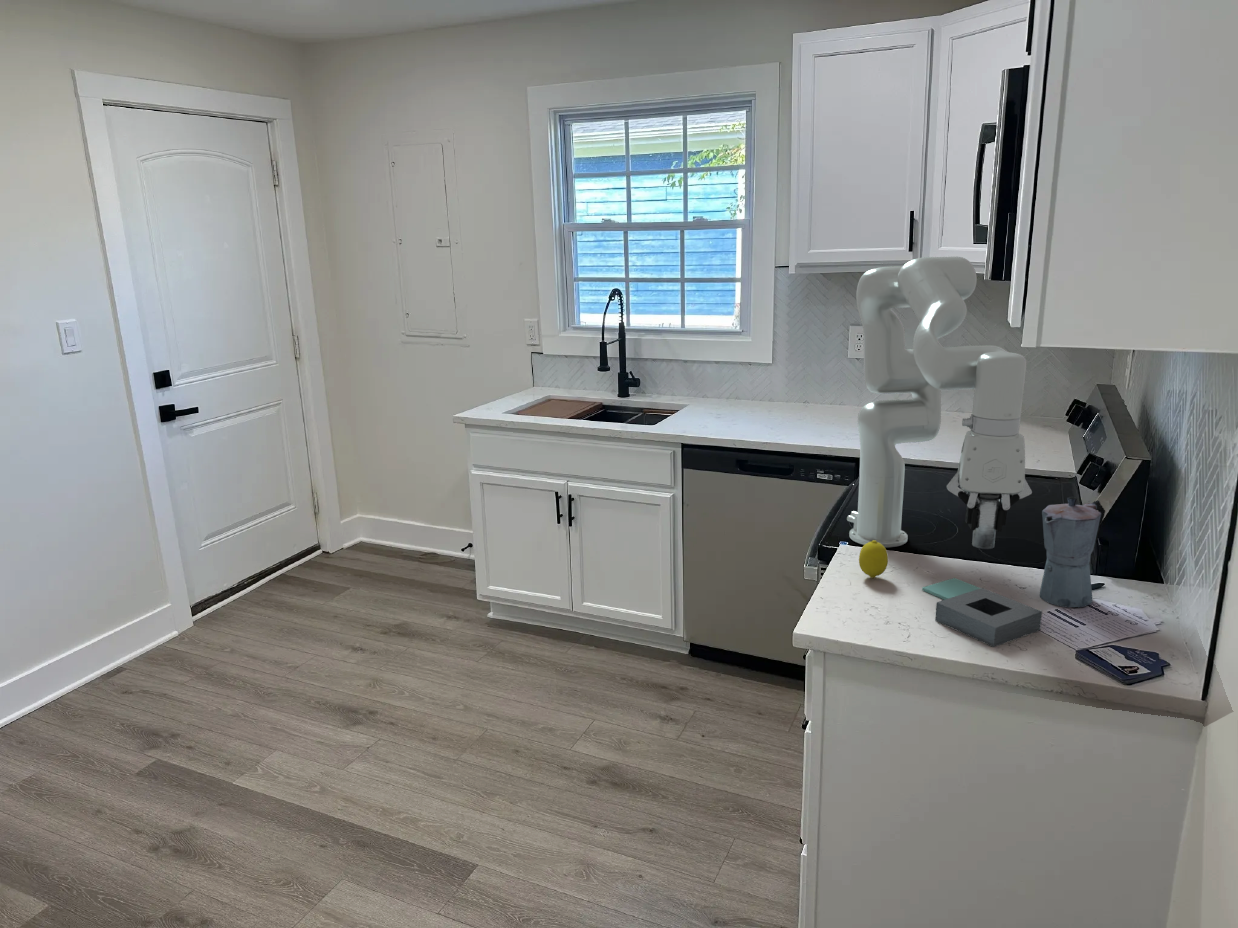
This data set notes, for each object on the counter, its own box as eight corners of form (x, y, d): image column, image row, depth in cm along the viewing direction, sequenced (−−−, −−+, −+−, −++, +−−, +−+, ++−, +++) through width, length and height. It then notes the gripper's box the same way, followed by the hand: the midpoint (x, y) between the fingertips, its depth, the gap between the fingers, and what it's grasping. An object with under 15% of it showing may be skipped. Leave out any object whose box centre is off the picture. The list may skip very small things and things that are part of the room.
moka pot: (1016, 598, 158) (1026, 496, 153) (1067, 581, 165) (1078, 483, 160) (1063, 616, 150) (1076, 509, 145) (1115, 597, 157) (1129, 495, 152)
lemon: (881, 572, 172) (883, 535, 170) (890, 582, 166) (893, 544, 164) (854, 573, 171) (856, 536, 169) (862, 583, 166) (865, 545, 164)
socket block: (935, 620, 149) (936, 602, 149) (980, 605, 155) (982, 587, 154) (993, 647, 139) (995, 627, 138) (1040, 630, 145) (1042, 611, 144)
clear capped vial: (972, 548, 147) (978, 493, 144) (969, 540, 150) (974, 486, 148) (997, 549, 146) (1003, 494, 143) (993, 541, 149) (998, 488, 147)
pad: (922, 590, 162) (922, 587, 162) (954, 580, 167) (954, 577, 166) (960, 606, 155) (961, 603, 155) (993, 596, 159) (993, 593, 159)
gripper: (946, 429, 141) (937, 532, 146) (1054, 433, 137) (1041, 538, 142) (940, 419, 148) (931, 518, 153) (1042, 422, 144) (1031, 523, 149)
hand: (984, 527), depth 147 cm, fingers closed on clear capped vial, 3 cm apart
